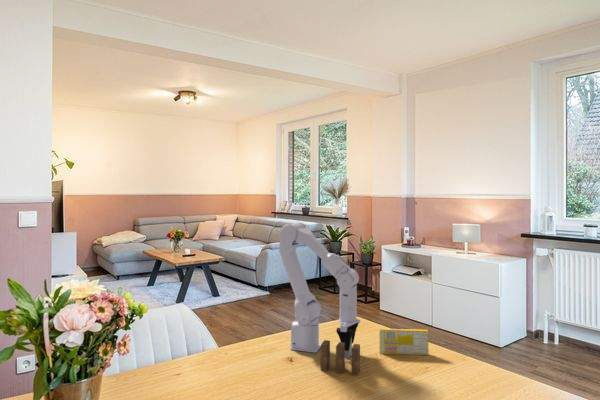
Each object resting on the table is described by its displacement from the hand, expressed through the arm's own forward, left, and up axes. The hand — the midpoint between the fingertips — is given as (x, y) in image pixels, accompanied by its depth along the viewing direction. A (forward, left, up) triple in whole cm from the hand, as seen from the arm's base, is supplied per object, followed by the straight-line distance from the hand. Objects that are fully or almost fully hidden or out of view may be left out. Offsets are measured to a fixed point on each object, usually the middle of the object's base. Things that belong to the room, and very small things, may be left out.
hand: (347, 346), depth 138 cm
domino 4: (+5, -12, -3) cm, 13 cm away
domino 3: (0, 0, -3) cm, 3 cm away
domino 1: (-5, -12, -3) cm, 13 cm away
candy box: (+17, +8, -3) cm, 20 cm away
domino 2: (0, -12, -3) cm, 12 cm away
